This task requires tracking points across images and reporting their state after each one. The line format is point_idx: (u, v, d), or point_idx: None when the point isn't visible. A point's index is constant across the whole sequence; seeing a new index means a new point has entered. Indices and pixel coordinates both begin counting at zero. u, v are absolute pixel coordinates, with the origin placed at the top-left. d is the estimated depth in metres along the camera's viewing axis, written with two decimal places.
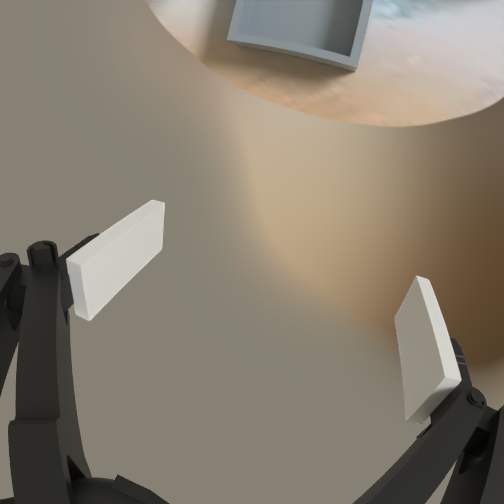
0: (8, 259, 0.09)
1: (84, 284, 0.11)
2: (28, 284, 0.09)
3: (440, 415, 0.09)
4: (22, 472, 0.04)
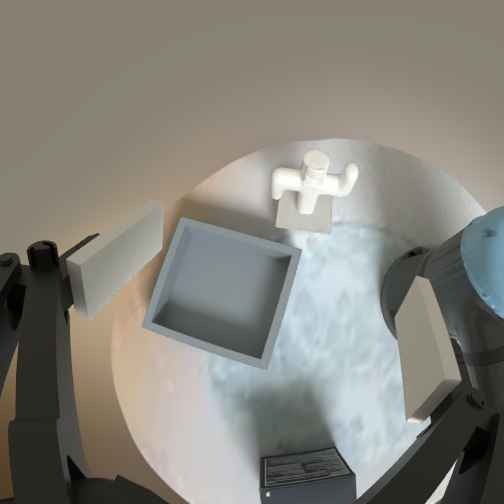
0: (8, 259, 0.09)
1: (84, 284, 0.11)
2: (28, 284, 0.09)
3: (440, 415, 0.09)
4: (22, 473, 0.04)
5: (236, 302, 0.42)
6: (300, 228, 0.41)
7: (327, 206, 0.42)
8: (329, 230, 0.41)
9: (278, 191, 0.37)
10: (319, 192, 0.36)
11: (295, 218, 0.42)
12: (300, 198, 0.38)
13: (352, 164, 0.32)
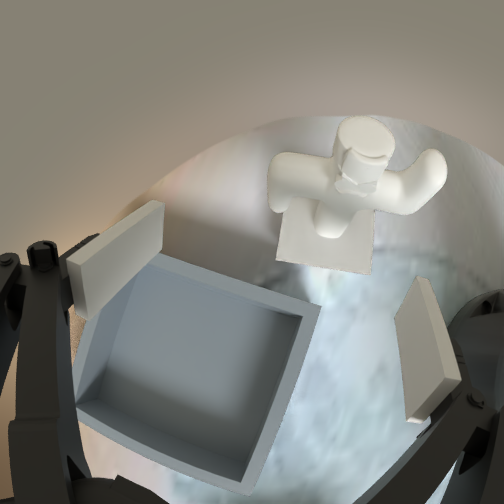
0: (8, 259, 0.09)
1: (84, 284, 0.11)
2: (28, 284, 0.09)
3: (440, 415, 0.09)
4: (22, 473, 0.04)
5: (207, 380, 0.24)
6: (319, 263, 0.23)
7: (366, 224, 0.24)
8: (368, 268, 0.23)
9: (281, 200, 0.19)
10: (362, 205, 0.17)
11: (311, 245, 0.24)
12: (323, 213, 0.20)
13: (436, 153, 0.13)
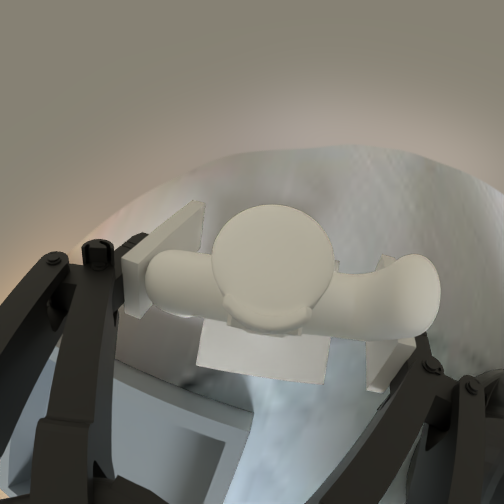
0: (56, 259, 0.10)
1: (139, 282, 0.11)
2: (79, 281, 0.10)
3: (397, 385, 0.10)
4: (43, 472, 0.04)
5: (135, 478, 0.17)
6: (253, 371, 0.17)
7: None
8: (321, 375, 0.17)
9: None
10: None
11: (243, 347, 0.17)
12: None
13: (423, 270, 0.07)
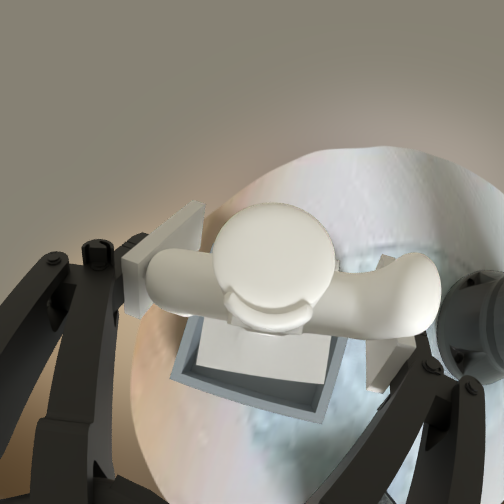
0: (56, 258, 0.10)
1: (139, 282, 0.11)
2: (79, 281, 0.10)
3: (397, 385, 0.10)
4: (43, 472, 0.04)
5: None
6: (253, 370, 0.17)
7: None
8: (322, 374, 0.17)
9: (176, 313, 0.13)
10: None
11: (243, 346, 0.17)
12: None
13: (424, 269, 0.07)
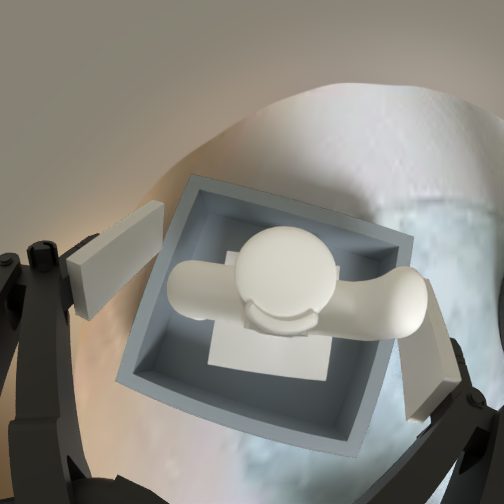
0: (8, 259, 0.09)
1: (84, 284, 0.11)
2: (28, 284, 0.09)
3: (440, 415, 0.09)
4: (22, 473, 0.04)
5: None
6: (261, 368, 0.18)
7: None
8: (324, 372, 0.18)
9: None
10: None
11: (251, 346, 0.19)
12: None
13: (412, 281, 0.09)
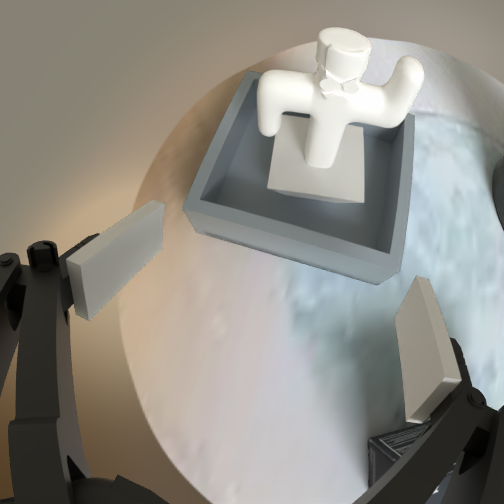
0: (8, 259, 0.09)
1: (84, 284, 0.11)
2: (28, 284, 0.09)
3: (440, 415, 0.09)
4: (22, 473, 0.04)
5: None
6: (311, 190, 0.23)
7: (356, 157, 0.24)
8: (361, 195, 0.23)
9: (271, 115, 0.19)
10: (349, 114, 0.17)
11: (302, 174, 0.23)
12: (312, 132, 0.20)
13: (411, 58, 0.13)
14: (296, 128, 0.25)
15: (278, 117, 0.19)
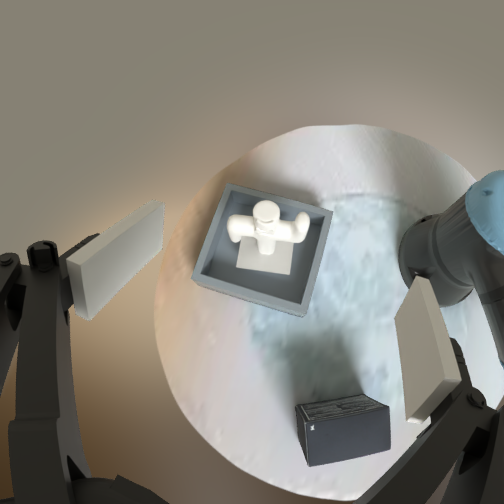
0: (8, 259, 0.09)
1: (84, 284, 0.11)
2: (28, 284, 0.09)
3: (440, 415, 0.09)
4: (22, 473, 0.04)
5: None
6: (260, 268, 0.43)
7: (288, 246, 0.44)
8: (288, 270, 0.43)
9: (234, 237, 0.39)
10: (273, 239, 0.37)
11: (256, 259, 0.44)
12: (257, 242, 0.40)
13: (303, 215, 0.34)
14: None
15: (239, 236, 0.39)
